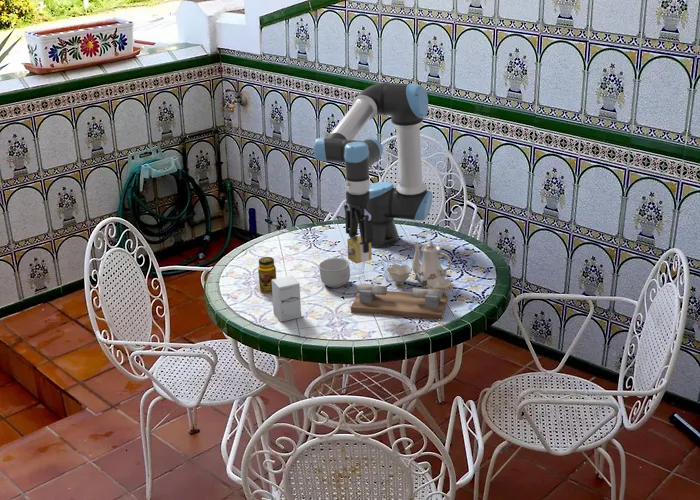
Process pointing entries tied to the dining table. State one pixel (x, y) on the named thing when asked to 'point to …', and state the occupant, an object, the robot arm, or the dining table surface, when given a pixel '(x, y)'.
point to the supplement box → (286, 298)
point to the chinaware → (425, 269)
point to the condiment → (266, 275)
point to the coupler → (356, 249)
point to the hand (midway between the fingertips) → (359, 257)
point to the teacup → (334, 272)
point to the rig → (399, 302)
